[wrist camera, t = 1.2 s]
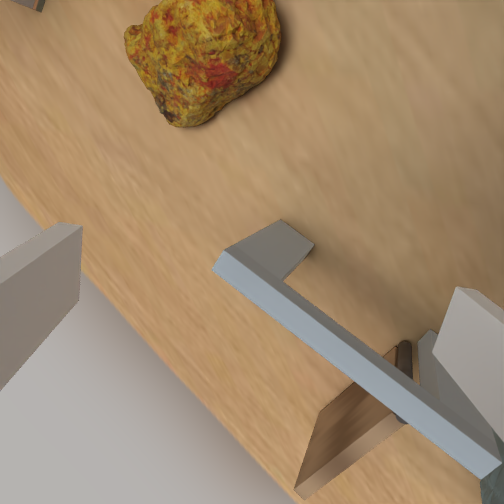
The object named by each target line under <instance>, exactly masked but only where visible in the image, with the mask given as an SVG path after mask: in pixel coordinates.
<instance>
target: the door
mask: <svg viewBox="0 0 504 504" xmlns="http://www.w3.org/2000/svg"><path fill="white" fill-rule="evenodd" d="M383 358H384V359H385V360H387V361H388V362H389V363H391V364H392V365H393V366H395V367H396V368H397V369H399V370H400V371H401V372H403V373H404V374H405V375H407V376H408V377H409V378H411V379H412V380H413V372H412V346H411V344H410V343H408V342H405V341H403V342H401V343H399V345H398V348H397V347H396V346H395V347H394V348H393V349H392V350H391V351H390V352H388V353H387V354H386V355H385V356H384V357H383ZM405 424H409V423H407V422H406V421H405V420H403V419H402V418H401V417H400V416H398V415H397V414H396V413H394V412H393V411H392V410H391V409H389V408H388V407H387V406H386V405H384V404H383V403H382V402H380V401H379V400H378V399H377V398H375V397H374V396H373V395H371V394H370V393H369V392H368V391H366V390H365V389H364V388H362V387H361V386H360V385H359V384H357V383H356V382H354V383H353V384H352V385H351V386H350V387H348V388H347V389H346V390H345V391H344V392H343V393H342V394H340V395H339V396H338V397H337V398H336V399H335V400H334V401H332V402H331V403H330V404H329V405H328V406H327V407H326V408H324V409H323V410H322V411H321V412H320V413H319V415H318V418H317V421H316V424H315V427H314V430H313V433H312V436H311V439H310V442H309V445H308V448H307V451H306V454H305V457H304V460H303V463H302V466H301V469H300V472H299V475H298V478H297V481H296V484H295V487H294V491H295V492H296V493H297V494H298V495H299V496H300V497H301V498H302V499H304V500H306V499H307V498H309V497H310V496H311V495H312V494H314V493H315V492H316V491H318V490H319V489H320V488H322V487H323V486H324V485H326V484H327V483H328V482H330V481H331V480H332V479H334V478H335V477H336V476H338V475H339V474H340V473H341V472H343V471H344V470H345V469H347V468H348V467H349V466H351V465H352V464H353V463H355V462H356V461H357V460H359V459H360V458H361V457H363V456H364V455H365V454H367V453H368V452H369V451H370V450H372V449H373V448H374V447H376V446H377V445H378V444H380V443H381V442H382V441H384V440H385V439H386V438H388V437H389V436H390V435H392V434H393V433H394V432H396V431H397V430H398V429H400V428H401V427H402V426H403V425H405Z"/></svg>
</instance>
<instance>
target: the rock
mask: <svg viewBox="0 0 504 504" xmlns="http://www.w3.org/2000/svg"><path fill="white" fill-rule="evenodd" d="M124 39H125V47H126V53H127V56H128V58H129V61H130V62H131V64H132V65H133V66H134V67H135V69H136V70H137V73H138V75H139V77H140V78H141V80H142V82H143V83H144V84H145V86H146V88H147V89H148V90H150V91H151V93H152V95H153V97H154V99H155V102H156V104H157V106H158V108H159V109H160V113H162V114H163V115H164V116H165V117H166V119H167V122H168V123H169V124H170V125H173V126H175V127H189V126H197V125H199V124H202V123H203V122H205V121H207V120H208V119H210V118H211V117H212V116H214V114H215V112H216V111H219V110H221V109H222V108H223V106H224V105H225V104H226V103H229V102H231V100H233V99H236V98H237V97H239V96H242V95H243V94H244V93H246V92H247V91H248V90H249V89H250V88H252V87H253V86H256V85H258V84H259V83H260V82H262V81H263V80H264V79H265V77H266V76H267V75H268V74H269V73H270V71H271V70H272V67H273V66H274V64H275V63H276V61H277V60H278V59H277V57H278V56H277V52H278V50H279V44H280V42H281V32H280V24H279V21H278V18H277V13H276V6H275V3H274V1H273V0H163V1H162V2H161V3H160V4H159V5H156V6H153V7H152V8H151V10H150V11H149V13H148V14H147V15H146V16H145V18H144V22H143V24H141V25H138V26H137V25H131V26H130V27H128V28H127V30H126V31H125V33H124Z"/></svg>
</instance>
